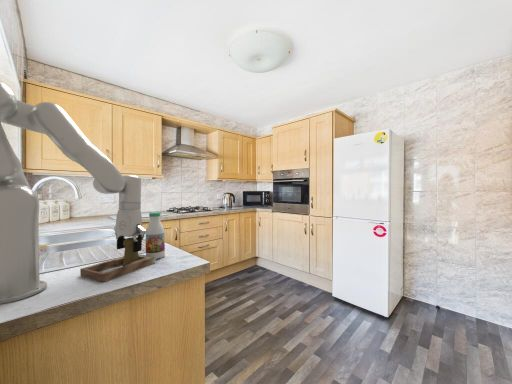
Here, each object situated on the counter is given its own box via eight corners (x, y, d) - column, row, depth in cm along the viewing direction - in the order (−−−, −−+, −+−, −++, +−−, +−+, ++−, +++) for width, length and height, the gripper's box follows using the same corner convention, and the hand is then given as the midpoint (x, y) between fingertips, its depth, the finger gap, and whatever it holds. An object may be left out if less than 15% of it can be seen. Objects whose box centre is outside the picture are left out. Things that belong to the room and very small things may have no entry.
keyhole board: (103, 282, 69) (103, 274, 69) (80, 275, 75) (80, 268, 75) (155, 262, 88) (155, 256, 87) (133, 259, 93) (133, 253, 93)
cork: (143, 264, 86) (142, 237, 86) (127, 269, 81) (126, 240, 81) (135, 261, 89) (134, 235, 89) (119, 266, 84) (119, 238, 84)
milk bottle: (143, 257, 96) (143, 212, 96) (161, 253, 101) (160, 211, 101) (148, 261, 90) (148, 213, 90) (167, 257, 95) (166, 212, 95)
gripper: (106, 206, 85) (105, 249, 85) (135, 207, 78) (134, 255, 77) (124, 205, 92) (123, 245, 91) (153, 207, 84) (152, 250, 84)
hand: (128, 249), depth 84 cm, fingers open, 9 cm apart
